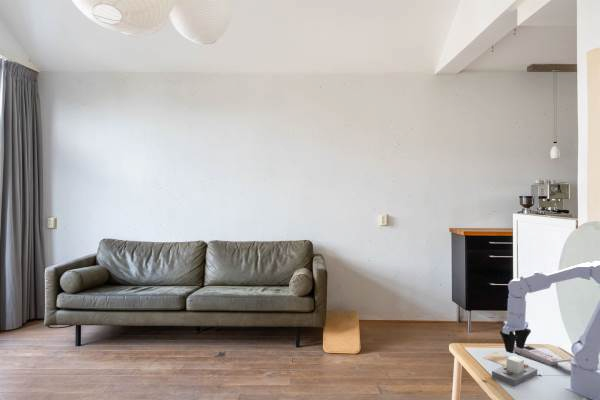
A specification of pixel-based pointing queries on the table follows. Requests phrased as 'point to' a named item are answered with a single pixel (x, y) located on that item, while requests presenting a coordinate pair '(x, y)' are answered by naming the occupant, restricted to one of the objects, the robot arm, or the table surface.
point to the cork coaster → (497, 358)
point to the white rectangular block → (515, 365)
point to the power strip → (514, 375)
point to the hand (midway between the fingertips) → (514, 350)
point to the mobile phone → (539, 355)
